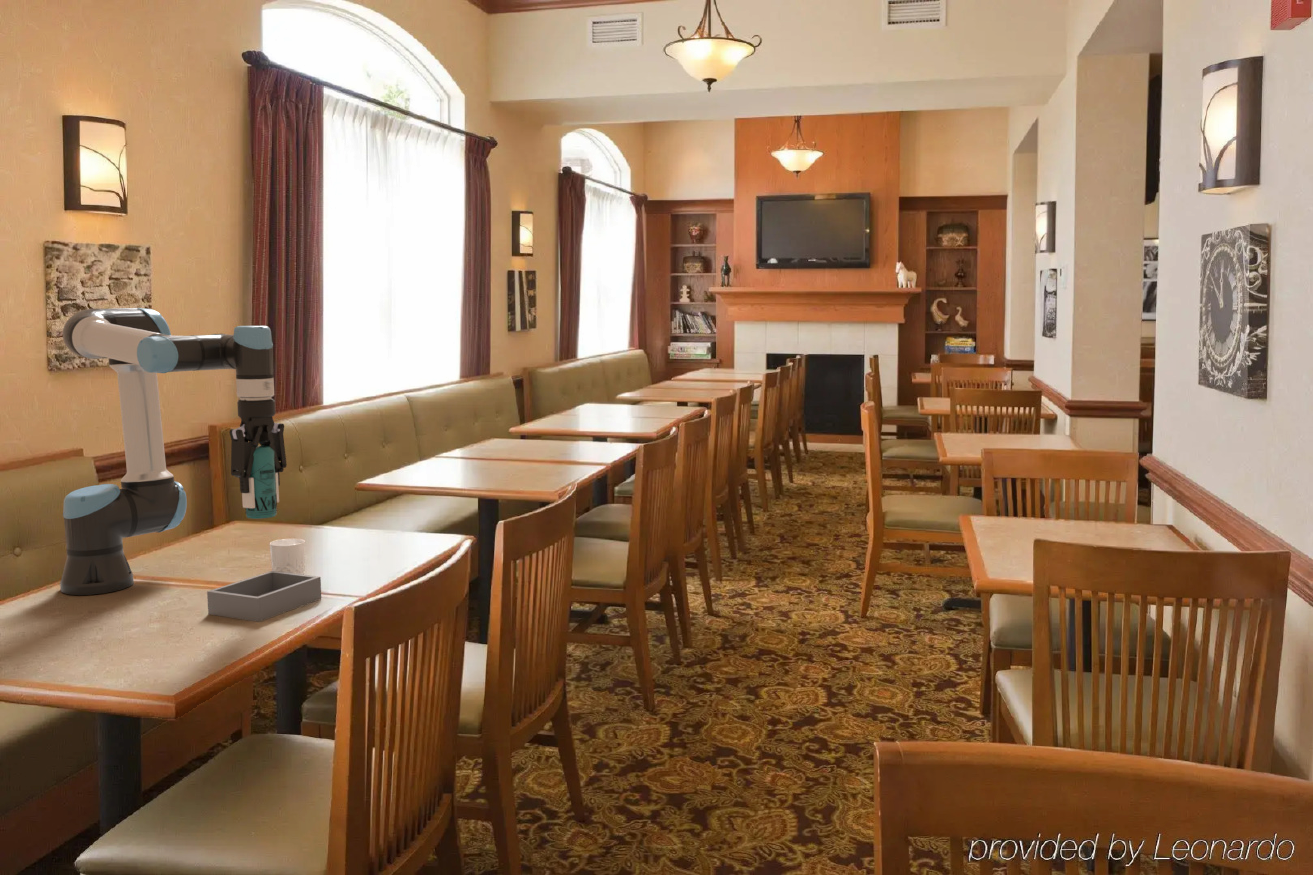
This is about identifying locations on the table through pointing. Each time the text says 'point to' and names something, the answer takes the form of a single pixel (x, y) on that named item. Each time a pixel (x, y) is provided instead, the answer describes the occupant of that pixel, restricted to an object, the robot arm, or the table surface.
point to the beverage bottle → (263, 482)
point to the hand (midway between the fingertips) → (261, 504)
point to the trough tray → (264, 595)
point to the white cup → (288, 555)
